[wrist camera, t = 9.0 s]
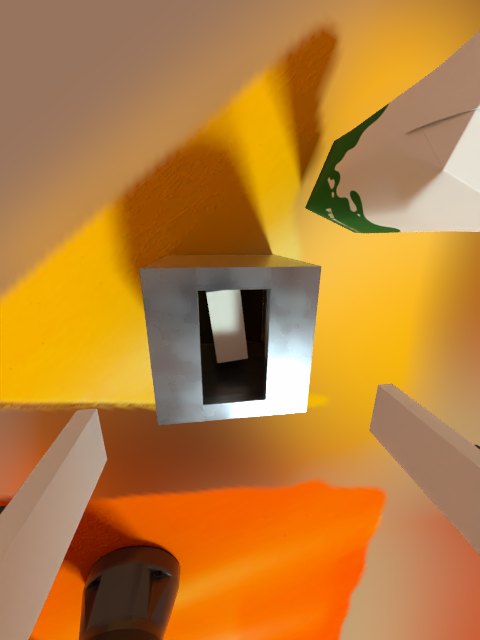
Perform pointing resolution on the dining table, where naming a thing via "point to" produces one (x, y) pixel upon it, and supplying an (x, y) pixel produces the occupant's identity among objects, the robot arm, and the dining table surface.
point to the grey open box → (200, 359)
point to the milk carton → (411, 158)
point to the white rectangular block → (227, 324)
